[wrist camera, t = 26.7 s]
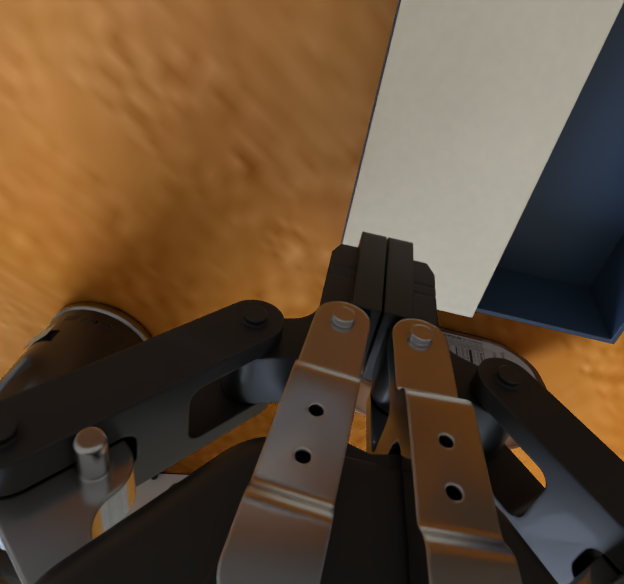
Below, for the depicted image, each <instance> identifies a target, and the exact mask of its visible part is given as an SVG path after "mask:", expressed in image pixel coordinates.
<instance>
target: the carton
mask: <svg viewBox="0 0 624 584" xmlns="http://www.w3.org/2000/svg"><path fill="white" fill-rule="evenodd" d="M400 3H401V0H399V1H398V6H397V10H396V14H395V18H394V22H393V27H392V31H391V35H390V39H389V43H388V48H387V52H386V56H385V60H384V64H383V68H382V73H381V77H380V81H379V85H378V89H377V94H376V98H375V102H374V106H373V110H372V114H371V119H370V123H369V127H368V131H367V135H366V140H365V144H364V148H363V152H362V156H361V161H360V165H359V169H358V173H357V177H356V181H355V186H354V190H353V194H352V198H351V202H350V207H349V211H348V215H347V219H346V223H345V227H344V232H343V236H342V240H341V244H342V243H343V239H344V235H345V231H346V227H347V222H348V218H349V214H350V210H351V206H352V202H353V198H354V193H355V189H356V185H357V181H358V177H359V173H360V169H361V164H362V160H363V156H364V152H365V148H366V144H367V140H368V136H369V131H370V127H371V123H372V119H373V115H374V111H375V107H376V102H377V98H378V94H379V90H380V86H381V82H382V78H383V73H384V69H385V65H386V61H387V57H388V53H389V49H390V44H391V40H392V36H393V32H394V28H395V24H396V20H397V15H398V11H399V7H400ZM475 312H480V313H484V314H488V315H492V316H497V317H501V318H505V319H509V320H513V321H518V322H522V323H526V324H530V325H535V326H539V327H543V328H547V329H552V330H556V331H560V332H564V333H569V334H573V335H577V336H581V337H586V338H590V339H594V340H598V341H603V342H607V343H611V344H614V343H615V342H616V340H617V339H618V338H619V336H620V335H621V334H622V332H623V331H624V3H623V5H622V7H621V9H620V11H619V13H618V15H617V17H616V19H615V21H614V24H613V26H612V28H611V30H610V32H609V34H608V36H607V38H606V40H605V42H604V44H603V46H602V49H601V51H600V53H599V55H598V57H597V59H596V61H595V63H594V65H593V67H592V69H591V71H590V73H589V76H588V78H587V80H586V82H585V84H584V86H583V88H582V90H581V92H580V94H579V96H578V98H577V101H576V103H575V105H574V107H573V109H572V111H571V113H570V115H569V117H568V119H567V121H566V123H565V126H564V128H563V130H562V132H561V134H560V136H559V138H558V140H557V142H556V144H555V146H554V148H553V150H552V153H551V155H550V157H549V159H548V161H547V163H546V165H545V167H544V169H543V171H542V173H541V175H540V178H539V180H538V182H537V184H536V186H535V188H534V190H533V192H532V194H531V196H530V198H529V200H528V202H527V205H526V207H525V209H524V211H523V213H522V215H521V217H520V219H519V221H518V223H517V225H516V227H515V230H514V232H513V234H512V236H511V238H510V240H509V242H508V244H507V246H506V248H505V250H504V252H503V254H502V257H501V259H500V261H499V263H498V265H497V267H496V269H495V271H494V273H493V275H492V277H491V279H490V282H489V284H488V286H487V288H486V290H485V292H484V294H483V296H482V298H481V300H480V302H479V304H478V306H477V309H476V311H475Z"/></svg>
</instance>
